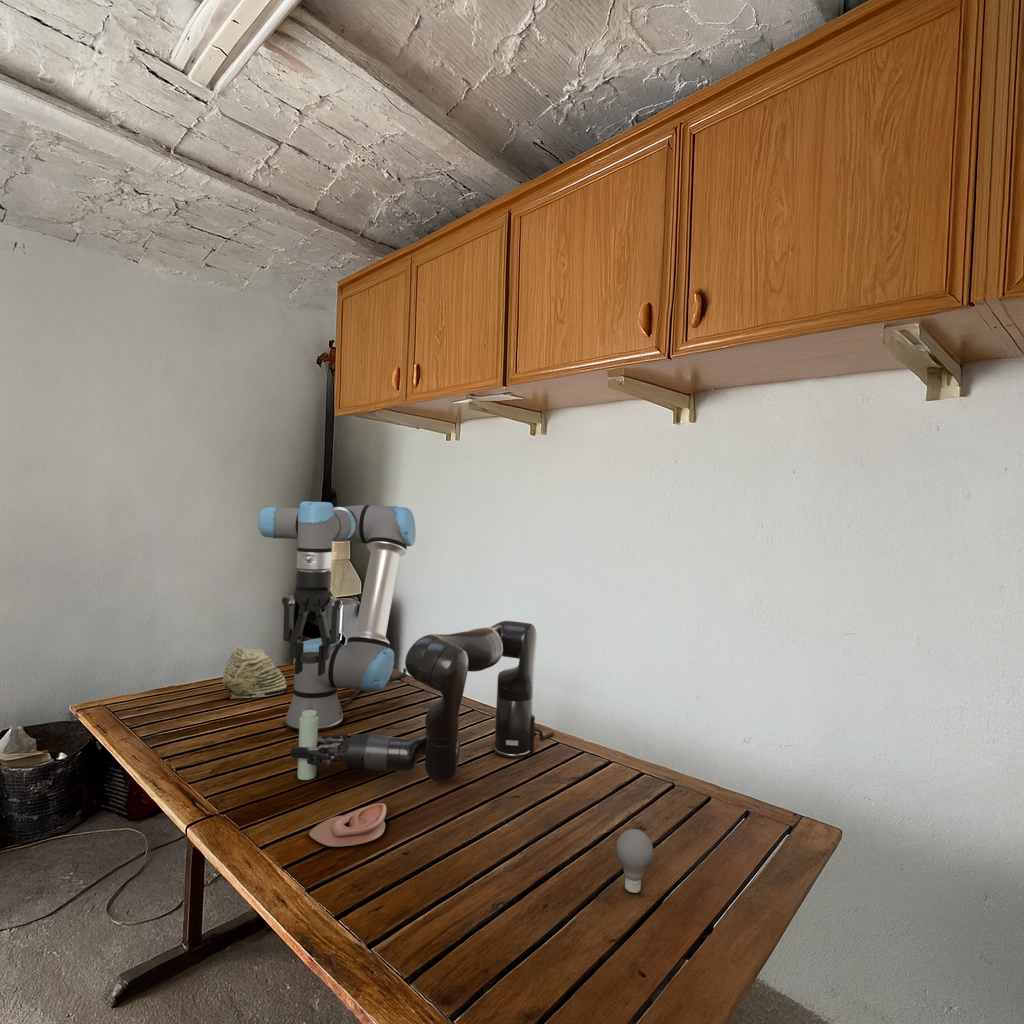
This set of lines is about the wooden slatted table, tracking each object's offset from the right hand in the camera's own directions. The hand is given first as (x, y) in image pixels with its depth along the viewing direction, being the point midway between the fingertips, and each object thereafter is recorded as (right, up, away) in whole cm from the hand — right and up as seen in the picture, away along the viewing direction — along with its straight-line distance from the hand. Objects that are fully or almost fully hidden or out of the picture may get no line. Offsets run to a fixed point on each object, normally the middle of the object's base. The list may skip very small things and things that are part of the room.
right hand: (295, 747), depth 143 cm
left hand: (+3, +17, 0) cm, 17 cm away
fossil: (-32, -4, +55) cm, 63 cm away
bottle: (+2, -6, 0) cm, 7 cm away
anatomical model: (+18, -8, -23) cm, 30 cm away
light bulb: (+69, -10, -38) cm, 79 cm away
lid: (+4, +21, -1) cm, 21 cm away
